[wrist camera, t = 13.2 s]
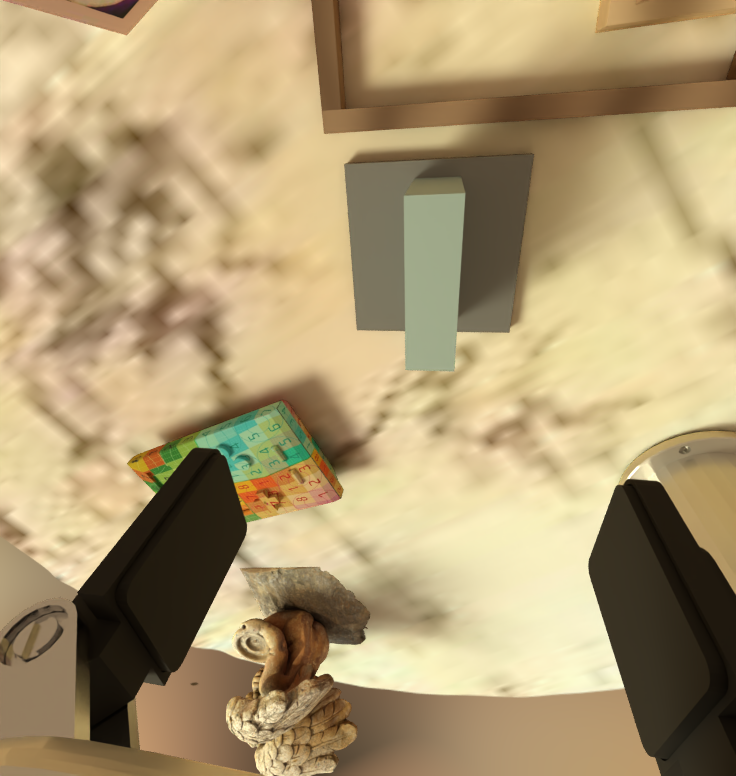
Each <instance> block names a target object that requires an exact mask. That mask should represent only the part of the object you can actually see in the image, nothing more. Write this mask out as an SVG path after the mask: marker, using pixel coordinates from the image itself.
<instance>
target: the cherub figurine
mask: <svg viewBox="0 0 736 776" xmlns="http://www.w3.org/2000/svg"><path fill="white" fill-rule="evenodd" d="M241 571H242V573H243V575H244V576H245V578H246V580H247V582H248V584H249V586H250V588H251V590H252V591H253V595H254V598H255V600H256V601H257V603H258V606H259V608H260V611H261V612H262V614H263V616H264V617H265V619H264V620H262V619H257V618H256V619H250V620H248V621H246V622H243V623H241V626H240V627H239V628H240V629H239V630H237V632H236V633H235V634H234V636H233V639H232V645H233V648H234V649H235V650H236V652H237V653H238V654H239V655H241V656H242V657H243V658H245V659H247V660H249V661H253V662H259V663H266V664H265V668H261V669H260V670H259V671H258V672H257V673H256V675H255V676H254V679H253V682H252V688H253V692H250V693H248V694H247V696H246V698H243V697H241V696H235V697H233V698H232V699H231V700H230V701H229V702H228V705H227V711H226V720H227V723H228V727H229V729H230V731H231V732H232V733H233V734H234V735H236V736H237V737H238V738H239V739H240V740H242V741H244V742H247V743H248V744H249V745H250V746H251V747H252V748H253V747H255V746H257V747H258V748H257V750H256V752H255V760H256V766H257V769H258V770H259V771H260V773H261V774H264V775H265V776H311V775H313V774H317V773H331V772H333V771H334V769H335V768H336V765H337V763H338V761H339V759H338V757H337V756H336V755H335V754H334V751H335V750H340V749H342V748H345V747H346V746H348V745H349V744H350V743H351V742H353V741H354V740H355V739H356V737H357V726H356V725H355V724H354V723H353V722H350V721H349V720H347V719H346V718H347V717H348V716H349V714H350V712H351V704H350V703H348V702H347V701H346V700H344V699H340V698H339V697H340V694H341V690H339V689H337V688H333V682H334V680H333V678H332V677H331V675H329V674H324V675H321V676H319V677H317V676H315V674H316V672H317V670H318V668H319V666H320V664H321V663H322V662H323V661H324V660H325V658H326V656H327V654H328V651H329V643H336V644H352V645H356V644H361V643H362V642H363V641H364V640H365V639H366V638H365V635H364V634H365V633H364V631H363V629H364V628H366V629H368V628H367V627H365V626H366V624H367V620H368V619H369V618H370V613H369V611H368V610H367V609H366V607H365V606H363V605H362V603H360V602H358V601H357V600H356V599H355V596H354V594H353V592H351V591H348V590H346V589H345V587H343V585H342V584H341V583H340V581H339V580H337V579H336V578H335V577H334V576H333V575H330V574H329V573H328V572H327V571H324V572H322V571H321V570H320V567H298V568H246V569H241Z"/></svg>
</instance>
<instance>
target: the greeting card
mask: <svg viewBox="0 0 736 776" xmlns="http://www.w3.org/2000/svg"><path fill="white" fill-rule="evenodd" d="M3 1H7V2H11V3H14V4H18V5H21V6H25V7H28V8H32V9H35V10H39V11H42V12H46V13H50V14H53V15H57V16H60V17H64V18H67V19H71V20H74V21H78V22H82V23H85V24H89V25H92V26H96V27H99V28H103V29H106V30H110V31H113V32H117V33H121V34H124V35H127V34H128V33H129V32H130V31H131V30H132V29H133V27H134V26H135V25H136V24H137V23H138V22H139V21H140V20H141V18H142V17H143V16H144V15H145V14H146V13H147V12H148V11H149V9H150V8H151V7H152V6H153V5H154V4H155V3H156V1H157V0H3Z"/></svg>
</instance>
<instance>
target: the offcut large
mask: <svg viewBox="0 0 736 776" xmlns="http://www.w3.org/2000/svg"><path fill="white" fill-rule="evenodd" d="M734 13H736V0H649V1H646V2H643V3H640V4H637V5H636V0H600V5H599V11H598V18H597V25H596V31H595V33H598V32H606V31H613V30H620V29H627V28H634V27H641V26H649V25H656V24H663V23H670V22H677V21H684V20H691V19H699V18H706V17H713V16H720V15H727V14H734Z"/></svg>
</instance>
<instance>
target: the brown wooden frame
mask: <svg viewBox="0 0 736 776" xmlns="http://www.w3.org/2000/svg"><path fill="white" fill-rule="evenodd" d="M311 1H312V12H313V22H314V33H315V43H316V53H317V64H318V74H319V85H320V95H321V106H322V116H323V127H324V134H328V133H344V132H359V131H374V130H389V129H404V128H419V127H434V126H449V125H465V124H480V123H495V122H510V121H525V120H540V119H555V118H570V117H585V116H601V115H616V114H631V113H646V112H661V111H676V110H691V109H706V108H722V107H736V51H735V54H734V58H733V61H732V64H731V67H730V70H729V73H728V76H727V79H726V80H724V81H711V82H698V83H684V84H671V85H658V86H645V87H632V88H619V89H605V90H592V91H579V92H566V93H553V94H539V95H526V96H513V97H500V98H487V99H473V100H460V101H447V102H434V103H421V104H407V105H394V106H381V107H368V108H355V109H346V103H345V89H344V75H343V61H342V46H341V32H340V18H339V3H338V0H311Z"/></svg>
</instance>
